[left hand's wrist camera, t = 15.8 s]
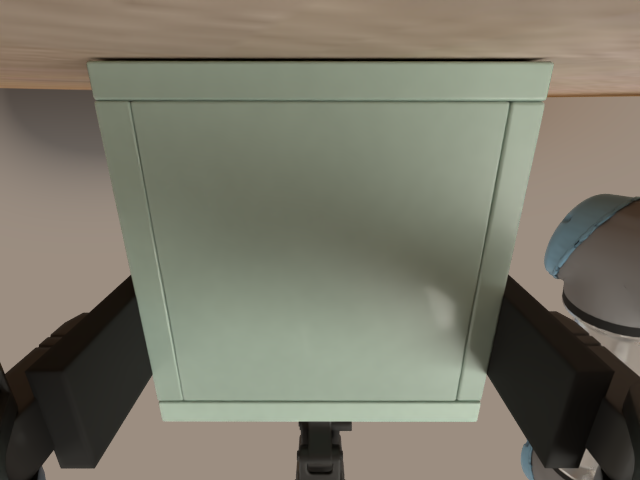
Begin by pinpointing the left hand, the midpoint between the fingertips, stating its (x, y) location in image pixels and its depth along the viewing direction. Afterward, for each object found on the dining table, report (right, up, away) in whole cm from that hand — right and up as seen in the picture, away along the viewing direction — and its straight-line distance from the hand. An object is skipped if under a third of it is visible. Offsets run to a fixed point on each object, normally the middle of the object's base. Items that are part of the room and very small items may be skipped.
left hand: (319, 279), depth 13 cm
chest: (0, +8, 0) cm, 8 cm away
